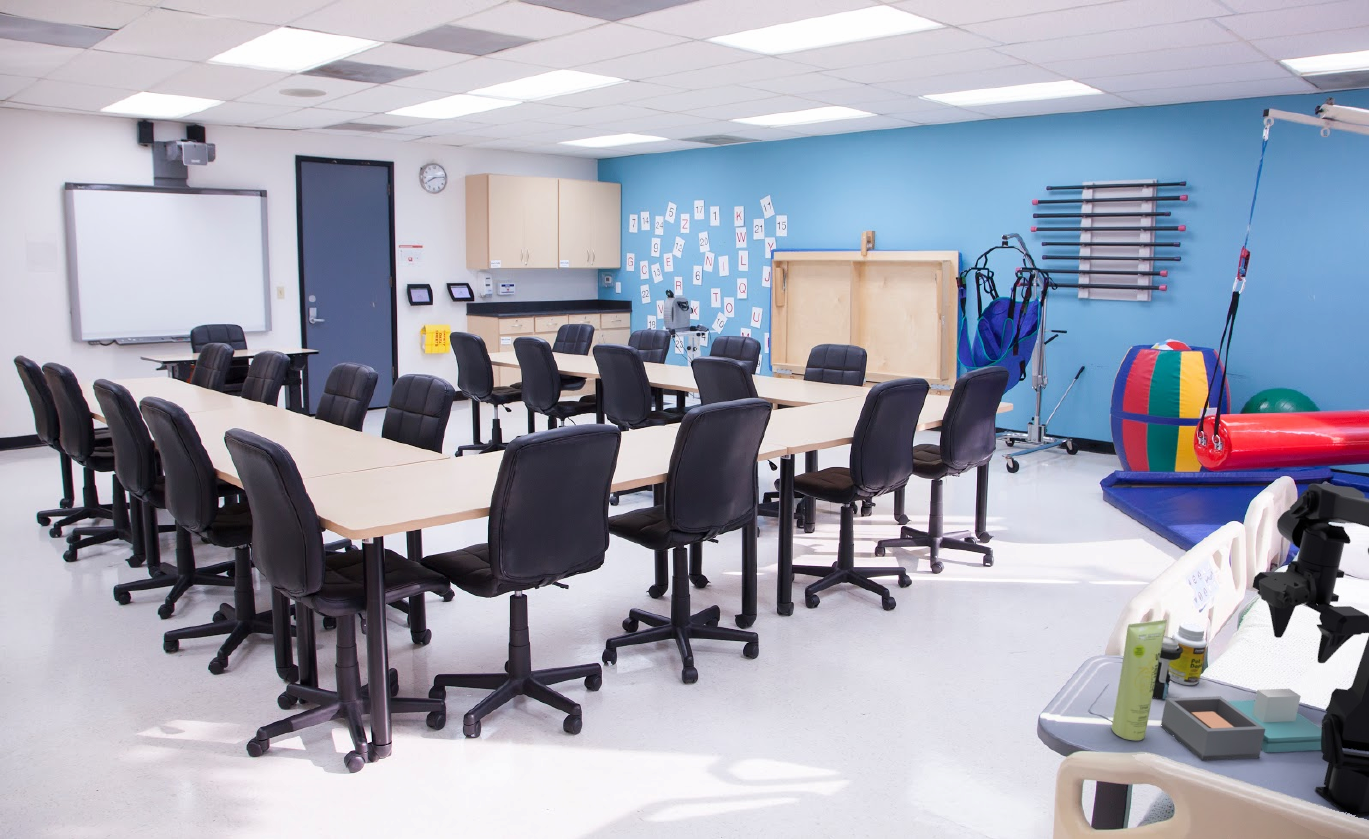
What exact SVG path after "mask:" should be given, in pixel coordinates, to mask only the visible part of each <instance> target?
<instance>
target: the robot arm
mask: <svg viewBox="0 0 1369 839" xmlns="http://www.w3.org/2000/svg"><path fill="white" fill-rule="evenodd" d="M1331 523H1334V524H1335V523H1337V524H1344V525H1345V524H1357V525H1360V526H1364V527H1368V528H1369V498H1366V497H1365V493H1364V492H1362V491H1361V490H1359V489H1357V488H1355V487H1353V486H1352V487H1351V486H1341V485H1331V484H1320V483H1310V484H1309V485H1308V486H1307V489H1304V490H1303V492H1302V493H1301V494H1300V496H1299V497H1298V498H1297V499H1296V501H1294V503H1293V504H1292V505H1291V506H1290V507H1289V509H1287V510H1285V511H1284V512H1283V513H1282V514H1281V515H1280V517H1279V518H1278V519H1277V522H1276V528H1277V531H1278V532H1279V534H1280V535H1281V536H1282V537H1283V538H1285V539H1286V540H1287V541H1289V542H1290V543H1291V544H1292V545H1294V546H1295V547H1296V548H1298V549H1299V550H1298V555H1297V560H1290V562H1289V563H1288V564H1287V569H1286V571H1260V572H1258V573H1257V574H1256V575H1255V576H1254V577H1253V582H1252V588H1254V589H1256V590H1257V594H1258V596H1260V599H1261V600H1263V601H1265V602H1266V604H1267V605H1268V609H1269V613H1270V618H1271V624H1272V630H1273V635H1274V637H1275V638H1277V639H1280V638H1283V636H1284V634H1285V632H1286V630H1287V629H1288V628H1287V627H1288V626H1289V622H1290V621H1291V619H1292V618H1291V617H1292V616H1293V613H1294V610H1295V608H1296V607H1297V606H1300V605H1304V606H1306V607H1308V608H1309V609H1312V610H1314V611H1316V612H1317V613H1319V616H1318V618H1319V622H1320V624H1318V623H1317V624H1316V626H1317V628H1318V630H1319V632H1320V634H1321V636H1320V641H1319V646H1318V652H1317V663H1318V664H1325V663H1327V661H1328V660H1330V658H1331V657H1332V656H1333V655H1334V654H1335V653H1336V652H1337V651H1338V650H1339V648H1341V647H1342V646H1343V645H1344V644H1345V643H1346V642H1348V641H1349V640H1350V639H1351V638H1353V636H1357V635H1358V636H1361V635H1362V634H1369V615H1368V614H1367V613H1365V612H1363V611H1361V610H1359V609H1356V608H1355V607H1353V606H1350V605H1346V606H1342V605H1340V606H1334V605H1333V604H1331V602H1333V603H1338V602H1339V600H1340V595H1338V594H1337V593H1334V592H1335V591H1334V590H1335V587H1336V582H1337V579H1340V578H1341V579H1343V578H1344V576H1345V571H1343V570H1342V569H1340V564H1341V559H1342V557H1343V556H1342V555H1343V553H1344V552H1343V551H1344V548H1345V544H1348V545H1350V543H1351V542H1352V541H1351V539H1350V536H1349V534H1348V533H1347V532H1346V530H1345V526H1343V525H1342V526H1340V525H1334V524H1331ZM1367 553H1368V555H1369V547H1368V548H1367ZM1353 678H1354V679H1353V681H1352V684H1351V686H1350V687H1349V688H1347V689H1344V688H1335V689H1334V690H1333V691H1332V692H1331V694H1330V700H1329V703H1328V705H1327V706H1326V708H1325V712H1326V713H1325V715H1323V717H1322V720H1321V729H1322V732H1321V750H1320V751H1321V752H1320V753H1322V756H1321V759H1322V760H1323V761H1324V762H1326V763H1327V768H1326V772H1325V777H1324V780H1323V786H1316V787H1315V788H1314V791H1315V792H1316V793H1317V794H1319V795H1320V796H1321V797H1322V798H1324V799H1325V800H1326V801H1328V802H1329V803H1331V804H1332V805H1333V806H1334V807H1336V808H1337V809H1338V810H1340V811H1341V812H1343V813H1344V812H1347V813H1350V814H1352V815H1356V816H1355V817H1366V816H1367V817H1368V816H1369V636H1368V637H1367V639H1366V643H1365V647H1364V648H1363V652H1362V655H1361V658H1360V661H1359V664H1358V667H1357V670H1356V673H1355V676H1354V677H1353ZM1344 749H1346V750H1344ZM1349 750H1350V751H1349ZM1351 750H1353V751H1351ZM1355 751H1359V752H1355ZM1363 752H1365V753H1363ZM1366 752H1367V753H1366Z"/></svg>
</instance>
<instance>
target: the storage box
mask: <svg viewBox="0 0 1369 839" xmlns="http://www.w3.org/2000/svg"><path fill="white" fill-rule="evenodd" d="M1228 701H1229V700H1226V699H1225V698H1223V697H1222V696H1217V695H1216V696H1193V697H1191V696H1189V697H1170V698H1169V697H1166V700H1165V702H1164V706H1163V707H1164V708H1163V713H1162V717H1161V721H1160V726H1161V725H1162V727H1163V728H1162V727H1161V728H1162V729H1164V730H1165V729H1166V730H1167V731H1168V732H1169V733H1168V732H1167V731H1166V730H1165V731H1166V732H1167V733H1168V734H1170V735H1171V736H1172V735H1174V737H1175V738H1174V737H1173V738H1174V739H1175V740H1177V741H1178V742H1179V741H1180V742H1181V743H1180V742H1179V743H1180V744H1182V746H1183V747H1185V748H1186V749H1188V751H1190V752H1191V753H1192V754H1193V755H1195V756H1196V757H1197V758H1198V759H1200V760H1201V761H1205V762H1207V761H1221V760H1243V759H1245V760H1246V759H1260V756H1261V751H1262V749H1261V747H1262V743H1263V738H1264V733H1265V728H1264V727H1262V726H1261V725H1259V724H1258V723H1257V722H1255V721H1254V720H1252V719H1251V718H1250V717H1248V716H1247V715H1246V714H1244V713H1243V712H1241V711H1240V710H1239V709H1237V708H1236V707H1234V706H1233V705H1232V704H1230V703H1229V702H1228Z"/></svg>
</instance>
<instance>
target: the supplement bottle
mask: <svg viewBox="0 0 1369 839" xmlns="http://www.w3.org/2000/svg"><path fill="white" fill-rule="evenodd" d="M1204 633H1205V628H1204V627H1203V626H1201V625H1199V624H1196V623H1193V622H1181V623H1179V626H1178V630H1177V631H1176V632H1173V634H1172V636H1171V638H1173V639H1175V640H1176V641H1178V645H1180V646H1181V647H1182V648H1183V652H1182V653H1181V656H1180V658H1179V659H1176V660H1173V661H1170V662H1169V667H1168V670H1169V675H1170V681H1173V682H1174V683H1177V684H1180V685H1184V686H1195V685H1197V684H1198V683H1199V682H1200V680H1201V679H1200V678H1201V674H1202V669H1203V664H1204V660H1205V655H1206V651H1207V645H1208V643H1207V640H1206V639H1205V637H1204V636H1205V634H1204Z"/></svg>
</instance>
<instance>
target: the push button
mask: <svg viewBox="0 0 1369 839" xmlns="http://www.w3.org/2000/svg"><path fill="white" fill-rule="evenodd" d="M1182 652H1183V648H1182V647H1181V646H1180V645H1178V641H1176V640H1175V639H1173V638H1172V637H1170V636H1166V635H1164V638H1163V643H1162V648H1161V653H1160V659H1159V664H1158V669H1157V675H1156V680H1155V685H1154V690H1153V696H1152V699H1153V698H1154V699H1158V700H1165V701H1166V698H1167V696H1168V692H1169V686H1170V681H1171V679H1170V675H1169V670H1168V667H1169V662H1170V661H1173V660H1176V659H1179V658H1180V656H1181V653H1182Z"/></svg>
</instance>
